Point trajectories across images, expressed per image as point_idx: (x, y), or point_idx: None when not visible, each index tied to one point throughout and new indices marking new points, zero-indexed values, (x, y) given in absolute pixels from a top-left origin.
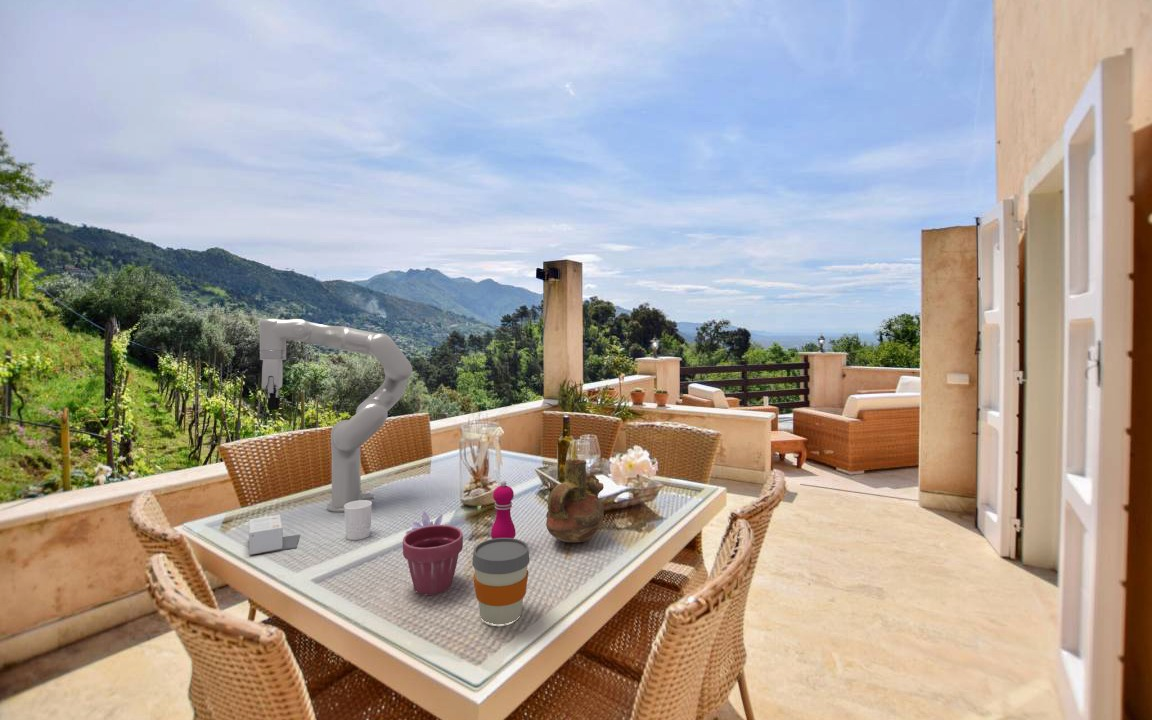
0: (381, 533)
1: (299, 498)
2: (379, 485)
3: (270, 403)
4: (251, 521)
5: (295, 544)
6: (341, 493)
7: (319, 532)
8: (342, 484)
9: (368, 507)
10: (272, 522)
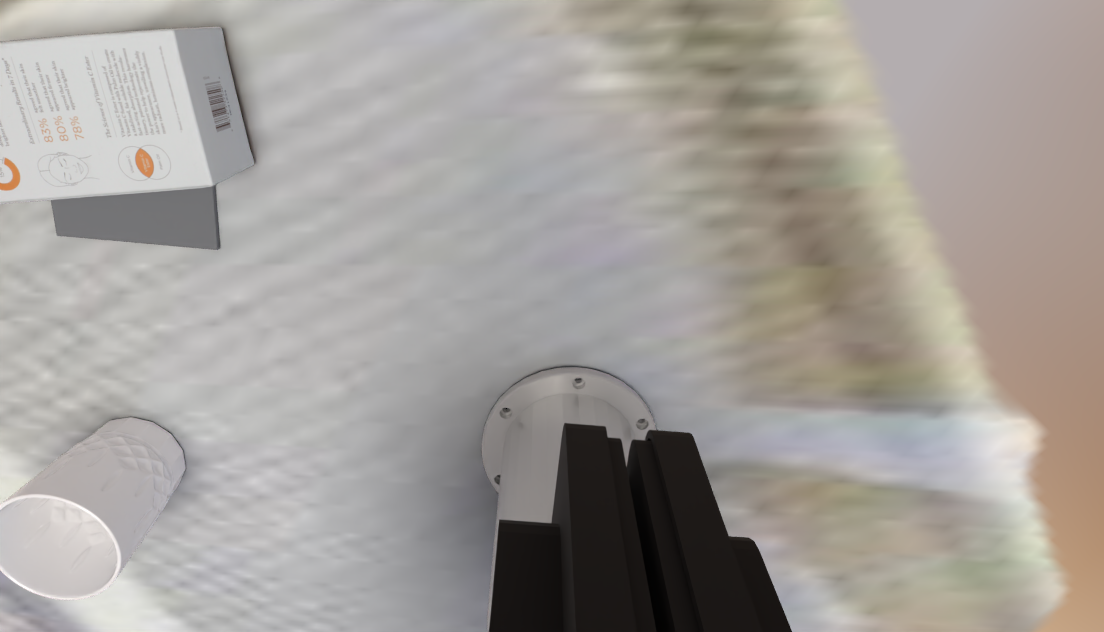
0: None
1: (854, 243)
2: (843, 594)
3: (492, 594)
4: (126, 44)
5: (90, 232)
6: (504, 471)
7: (237, 323)
8: (500, 507)
9: (22, 577)
10: (71, 155)
